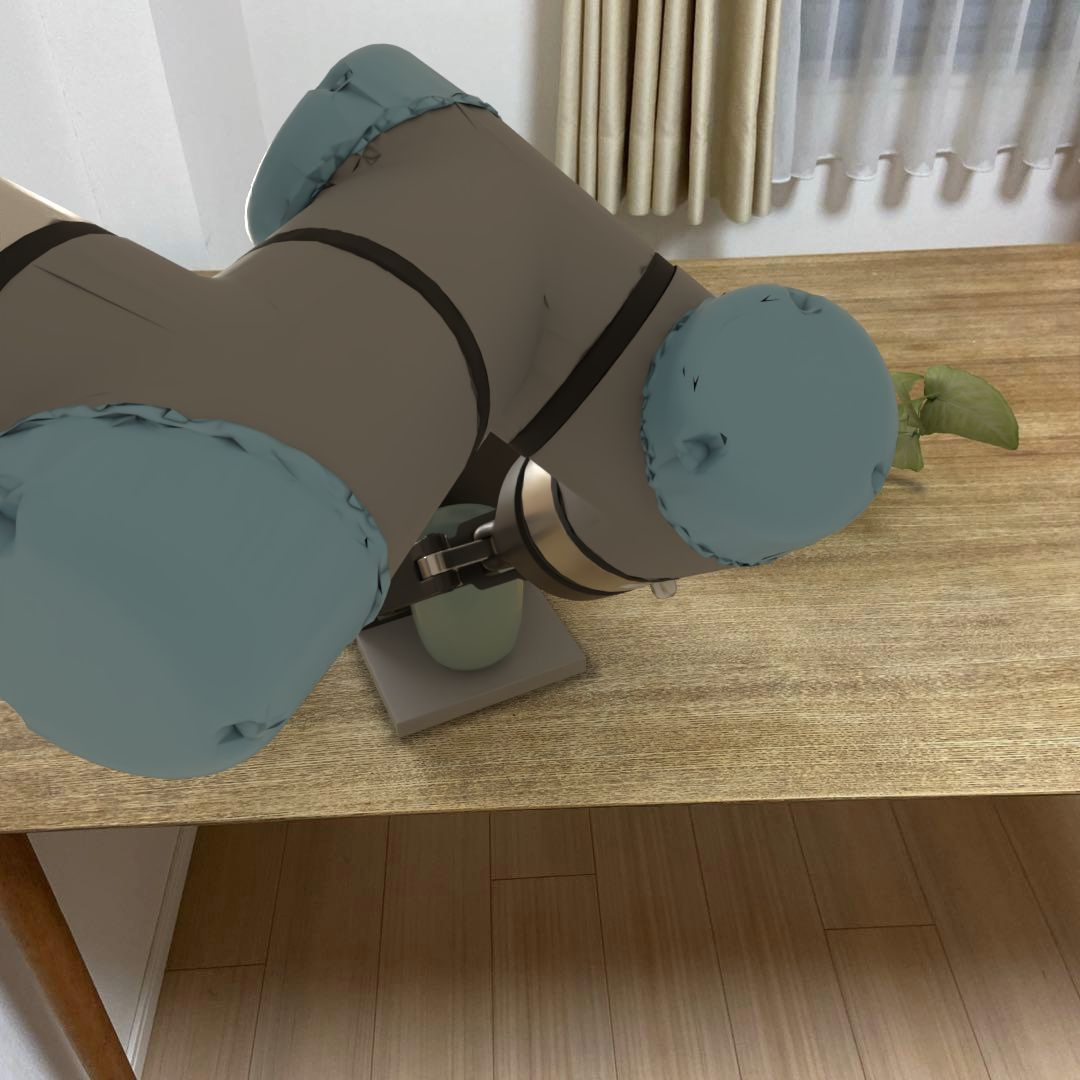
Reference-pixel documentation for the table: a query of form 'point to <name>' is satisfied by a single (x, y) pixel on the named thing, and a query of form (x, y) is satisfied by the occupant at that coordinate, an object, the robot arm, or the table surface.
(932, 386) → the potted plant
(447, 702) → the coffee maker
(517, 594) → the cup
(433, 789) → the table surface
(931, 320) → the table surface
